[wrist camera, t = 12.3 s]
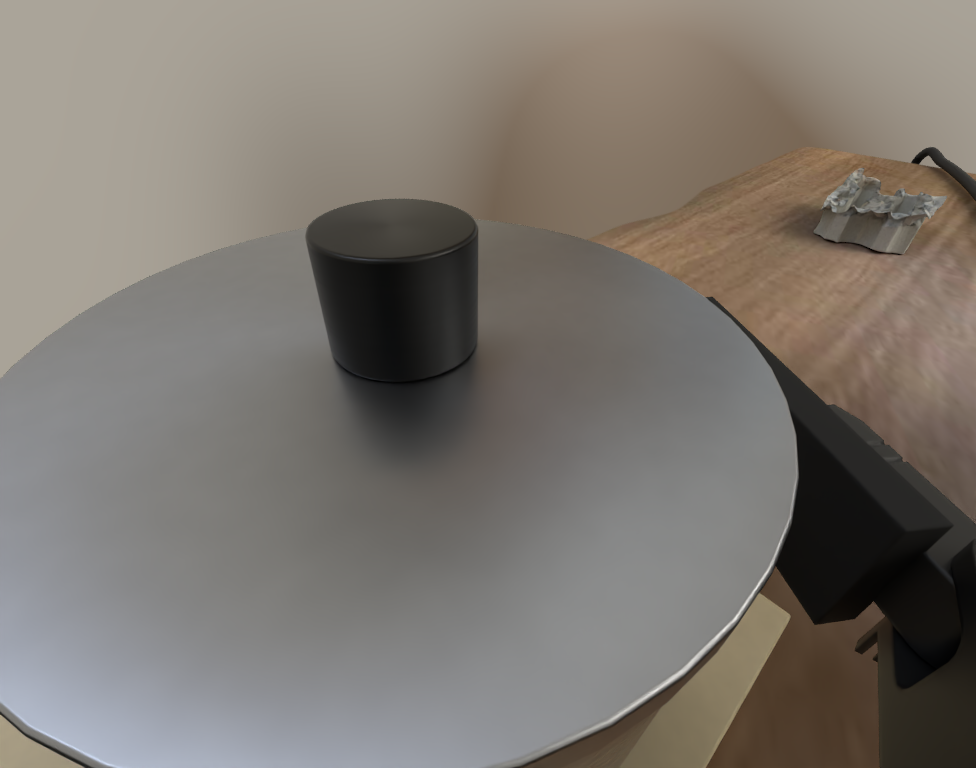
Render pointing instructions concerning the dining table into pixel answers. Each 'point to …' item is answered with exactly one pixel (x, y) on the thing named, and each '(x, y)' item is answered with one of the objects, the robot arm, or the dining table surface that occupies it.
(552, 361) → the pot
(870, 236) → the egg carton
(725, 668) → the hot plate
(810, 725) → the dining table surface
